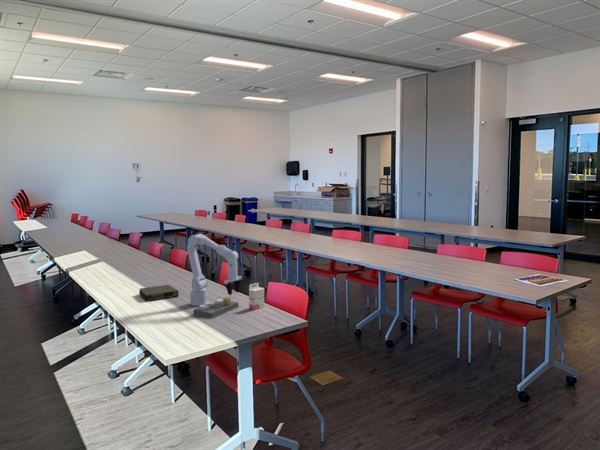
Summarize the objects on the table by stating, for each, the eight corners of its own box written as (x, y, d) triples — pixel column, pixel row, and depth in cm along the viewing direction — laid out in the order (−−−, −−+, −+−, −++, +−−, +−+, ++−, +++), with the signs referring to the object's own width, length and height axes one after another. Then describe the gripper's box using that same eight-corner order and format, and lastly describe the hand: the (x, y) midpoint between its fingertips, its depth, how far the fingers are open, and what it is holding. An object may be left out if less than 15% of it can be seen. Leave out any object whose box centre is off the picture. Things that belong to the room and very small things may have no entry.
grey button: (199, 310, 261) (199, 306, 261) (204, 308, 264) (204, 304, 264) (204, 311, 259) (204, 307, 259) (209, 309, 262) (209, 305, 262)
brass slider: (223, 304, 268) (223, 298, 267) (226, 302, 270) (226, 297, 270) (227, 304, 266) (227, 299, 266) (230, 303, 269) (230, 297, 268)
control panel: (193, 314, 259) (193, 309, 259) (220, 304, 280) (220, 299, 280) (212, 318, 253) (212, 312, 252) (238, 307, 273) (238, 302, 273)
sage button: (207, 307, 267) (207, 303, 267) (212, 305, 270) (212, 301, 270) (212, 308, 265) (212, 304, 265) (217, 306, 268) (217, 302, 268)
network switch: (148, 303, 286) (147, 295, 286) (135, 296, 305) (134, 289, 304) (182, 296, 301) (182, 289, 301) (168, 290, 319) (167, 283, 319)
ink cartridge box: (254, 310, 266) (254, 285, 265) (249, 308, 270) (248, 284, 268) (265, 306, 273) (264, 283, 271) (259, 305, 276) (258, 282, 275)
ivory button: (215, 304, 273) (215, 300, 273) (219, 302, 276) (219, 299, 276) (220, 305, 271) (220, 301, 271) (224, 303, 274) (224, 299, 274)
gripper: (230, 274, 264) (231, 296, 265) (245, 269, 276) (246, 291, 278) (221, 273, 267) (221, 295, 269) (236, 268, 280) (236, 289, 281)
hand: (233, 293), depth 273 cm, fingers open, 6 cm apart
